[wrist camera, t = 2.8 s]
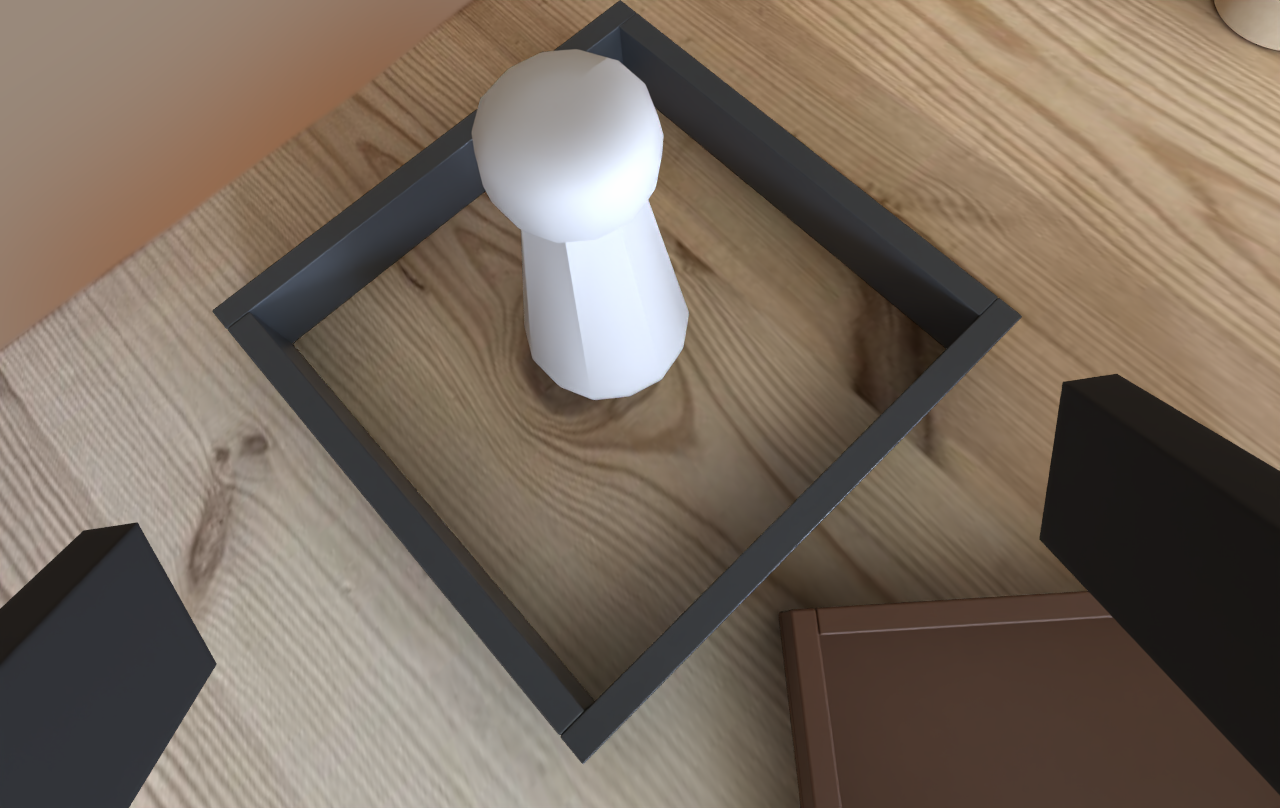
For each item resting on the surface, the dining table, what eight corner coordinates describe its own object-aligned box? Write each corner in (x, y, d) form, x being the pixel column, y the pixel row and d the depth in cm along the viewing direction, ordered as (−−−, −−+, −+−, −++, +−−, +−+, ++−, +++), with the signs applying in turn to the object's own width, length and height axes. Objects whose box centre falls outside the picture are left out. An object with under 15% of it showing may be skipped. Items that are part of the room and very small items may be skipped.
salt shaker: (706, 393, 26) (733, 181, 14) (559, 437, 26) (458, 260, 14) (660, 262, 28) (650, -26, 16) (523, 302, 28) (404, 39, 16)
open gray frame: (594, 748, 23) (582, 764, 20) (258, 343, 28) (211, 310, 25) (985, 350, 27) (1022, 316, 24) (624, 56, 32) (620, -1, 29)
